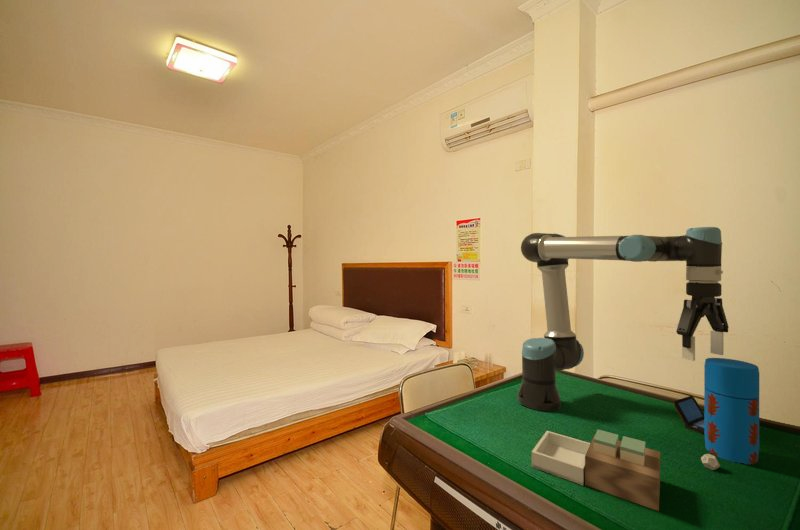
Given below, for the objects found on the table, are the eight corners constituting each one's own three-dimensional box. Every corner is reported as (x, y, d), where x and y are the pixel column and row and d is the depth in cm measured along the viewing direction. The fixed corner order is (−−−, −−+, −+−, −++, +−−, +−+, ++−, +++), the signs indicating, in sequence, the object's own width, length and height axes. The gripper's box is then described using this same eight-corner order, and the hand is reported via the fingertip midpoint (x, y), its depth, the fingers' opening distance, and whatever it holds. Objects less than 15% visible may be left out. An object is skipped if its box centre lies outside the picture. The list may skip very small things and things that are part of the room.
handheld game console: (713, 439, 103) (713, 414, 103) (672, 423, 112) (672, 401, 112) (733, 429, 108) (733, 406, 108) (691, 416, 118) (691, 394, 118)
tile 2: (620, 459, 80) (620, 446, 80) (623, 448, 85) (623, 435, 85) (643, 466, 77) (643, 452, 77) (645, 454, 82) (645, 441, 82)
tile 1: (593, 451, 83) (593, 438, 83) (597, 440, 88) (597, 429, 88) (615, 457, 81) (615, 444, 81) (618, 446, 85) (618, 434, 85)
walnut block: (585, 485, 81) (585, 455, 81) (594, 460, 92) (594, 434, 92) (658, 511, 73) (658, 478, 73) (660, 480, 83) (660, 451, 83)
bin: (531, 467, 89) (531, 451, 89) (546, 444, 100) (546, 430, 100) (583, 485, 81) (583, 468, 81) (593, 458, 92) (593, 444, 92)
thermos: (694, 443, 99) (694, 358, 99) (727, 442, 100) (728, 357, 100) (733, 466, 89) (733, 369, 88) (771, 463, 90) (771, 368, 89)
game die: (700, 461, 91) (700, 450, 91) (719, 467, 88) (719, 455, 88) (700, 468, 88) (700, 456, 88) (720, 473, 86) (720, 461, 86)
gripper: (692, 284, 89) (691, 365, 89) (744, 281, 98) (744, 355, 99) (660, 282, 96) (660, 358, 96) (712, 280, 105) (712, 349, 105)
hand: (703, 356), depth 97 cm, fingers open, 13 cm apart
